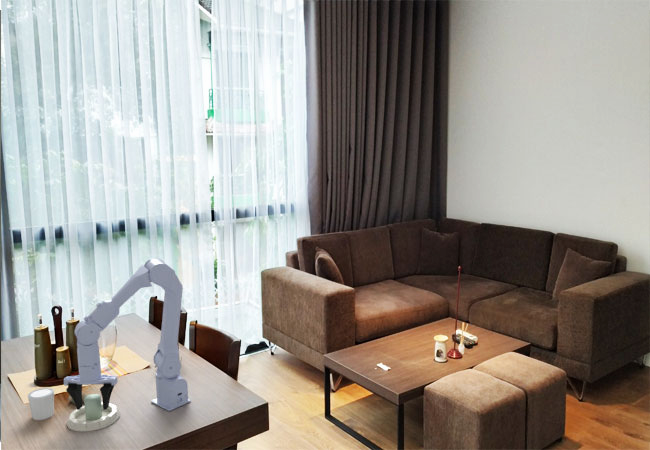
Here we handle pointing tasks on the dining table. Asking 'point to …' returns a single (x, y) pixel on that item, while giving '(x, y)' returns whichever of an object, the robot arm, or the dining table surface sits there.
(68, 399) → the bead pile
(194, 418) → the dining table surface
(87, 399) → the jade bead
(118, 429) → the dining table surface
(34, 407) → the white cylinder
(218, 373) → the dining table surface
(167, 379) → the robot arm
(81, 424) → the round bowl
